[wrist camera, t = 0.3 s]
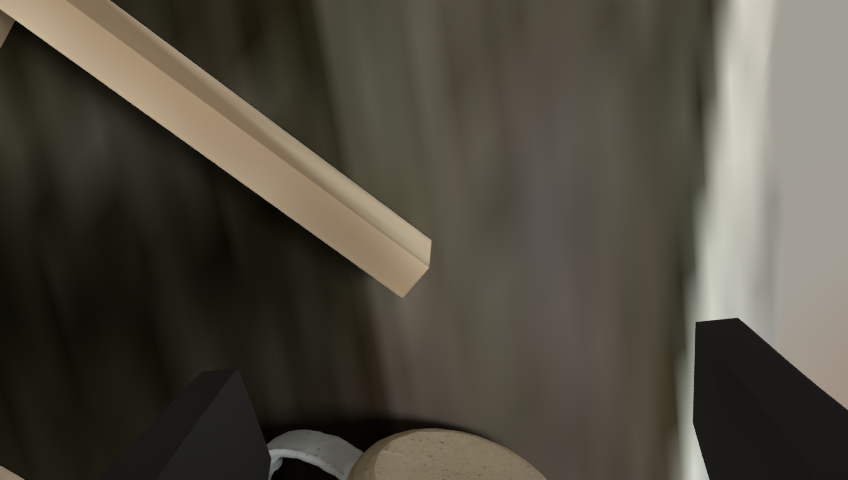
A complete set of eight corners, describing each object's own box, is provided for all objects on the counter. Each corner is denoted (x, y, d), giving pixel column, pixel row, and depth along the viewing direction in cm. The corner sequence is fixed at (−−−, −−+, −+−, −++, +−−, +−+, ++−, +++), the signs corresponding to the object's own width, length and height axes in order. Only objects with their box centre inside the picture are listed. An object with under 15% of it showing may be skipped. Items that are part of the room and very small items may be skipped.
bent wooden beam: (142, 576, 27) (119, 621, 26) (-219, 369, 25) (-275, 404, 23) (431, 240, 22) (429, 267, 20) (9, -75, 19) (-40, -77, 17)
